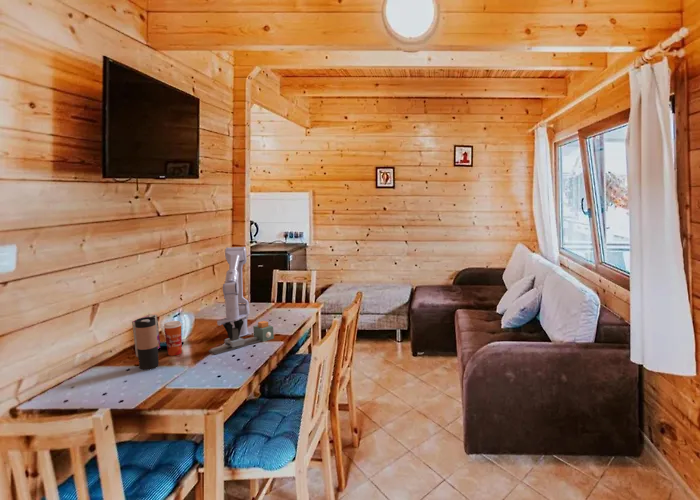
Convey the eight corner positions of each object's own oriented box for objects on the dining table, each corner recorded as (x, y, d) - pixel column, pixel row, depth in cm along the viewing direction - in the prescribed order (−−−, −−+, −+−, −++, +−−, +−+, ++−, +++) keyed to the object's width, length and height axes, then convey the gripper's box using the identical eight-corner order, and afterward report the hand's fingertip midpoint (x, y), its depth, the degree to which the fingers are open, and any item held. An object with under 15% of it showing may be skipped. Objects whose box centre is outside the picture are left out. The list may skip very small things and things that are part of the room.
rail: (208, 351, 193) (208, 347, 193) (253, 339, 209) (253, 335, 209) (215, 354, 189) (214, 350, 189) (260, 341, 205) (260, 337, 205)
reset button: (258, 329, 209) (257, 322, 209) (264, 327, 212) (264, 320, 211) (262, 330, 207) (261, 323, 206) (268, 329, 209) (268, 322, 209)
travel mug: (143, 364, 181) (139, 317, 178) (162, 362, 181) (158, 316, 179) (135, 371, 173) (131, 322, 171) (155, 369, 174) (151, 321, 171)
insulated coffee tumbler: (151, 348, 200) (148, 314, 198) (161, 349, 199) (158, 314, 197) (134, 357, 189) (131, 321, 187) (144, 357, 188) (141, 321, 186)
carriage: (224, 344, 199) (223, 328, 198) (236, 341, 203) (235, 325, 202) (232, 347, 194) (231, 331, 193) (244, 344, 198) (243, 328, 197)
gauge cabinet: (254, 338, 210) (253, 326, 210) (264, 335, 215) (263, 323, 214) (263, 341, 205) (262, 329, 204) (274, 338, 209) (273, 326, 208)
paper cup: (166, 357, 187) (163, 326, 186) (164, 352, 194) (162, 322, 193) (185, 354, 191) (183, 323, 189) (183, 349, 198) (181, 319, 196)
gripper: (221, 312, 189) (223, 342, 190) (250, 306, 199) (252, 335, 200) (214, 310, 194) (216, 339, 195) (242, 304, 204) (244, 332, 205)
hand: (234, 337), depth 198 cm, fingers closed on carriage, 3 cm apart
